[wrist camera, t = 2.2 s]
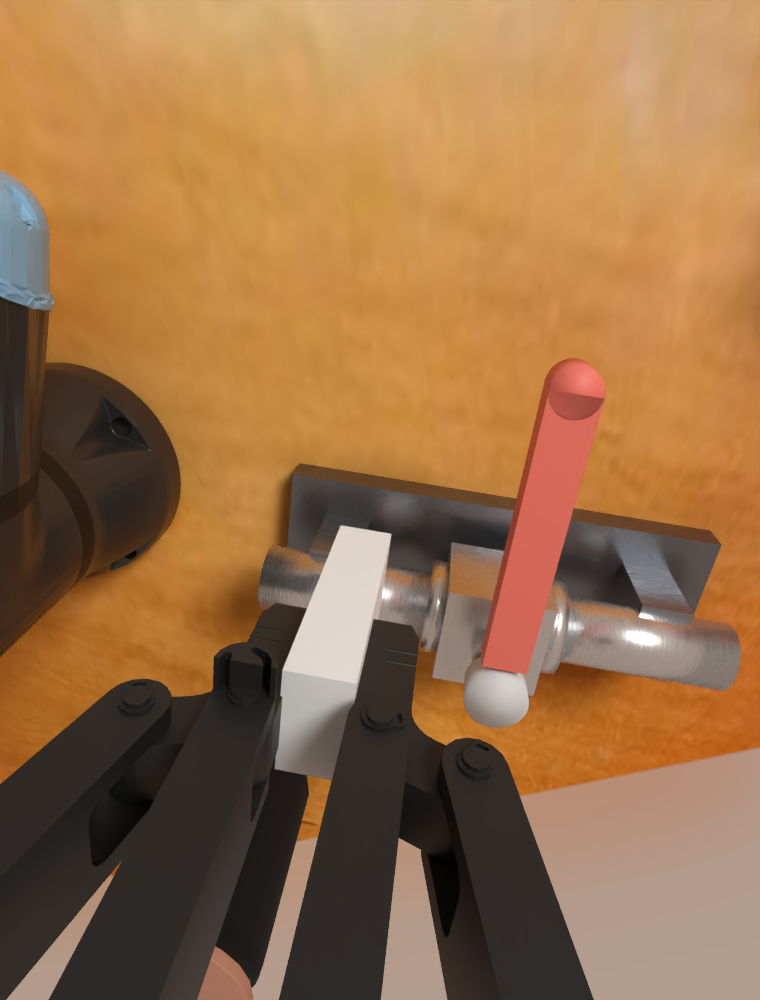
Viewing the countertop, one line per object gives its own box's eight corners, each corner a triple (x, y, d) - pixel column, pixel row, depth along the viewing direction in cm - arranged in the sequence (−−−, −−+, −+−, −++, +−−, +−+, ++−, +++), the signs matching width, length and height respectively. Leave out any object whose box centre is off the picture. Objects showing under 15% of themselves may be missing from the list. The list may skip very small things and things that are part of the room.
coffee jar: (172, 745, 57) (54, 960, 40) (270, 709, 54) (185, 925, 37) (238, 826, 60) (153, 1054, 44) (334, 796, 57) (281, 1029, 41)
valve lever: (518, 708, 34) (521, 732, 33) (459, 697, 34) (459, 721, 33) (615, 364, 26) (625, 373, 25) (538, 352, 27) (543, 361, 25)
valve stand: (290, 585, 48) (236, 698, 37) (299, 463, 44) (242, 549, 33) (663, 650, 47) (727, 790, 35) (710, 530, 43) (799, 645, 31)
